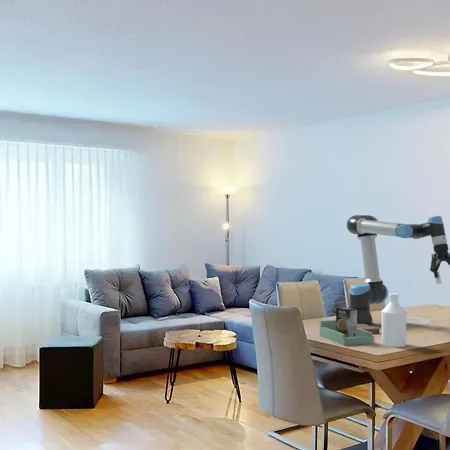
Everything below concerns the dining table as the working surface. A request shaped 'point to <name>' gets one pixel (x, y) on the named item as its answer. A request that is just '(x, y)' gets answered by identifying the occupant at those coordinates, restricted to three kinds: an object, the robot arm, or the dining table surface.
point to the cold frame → (330, 333)
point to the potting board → (368, 328)
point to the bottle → (393, 323)
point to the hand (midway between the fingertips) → (448, 282)
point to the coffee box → (346, 321)
